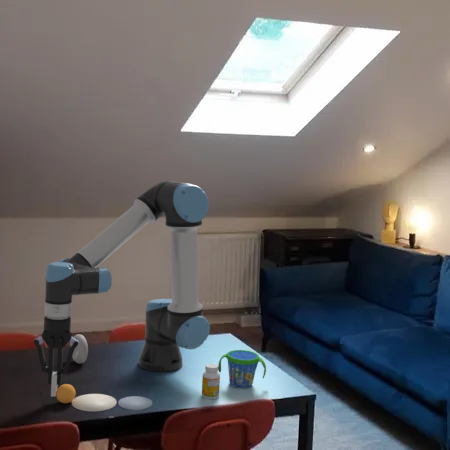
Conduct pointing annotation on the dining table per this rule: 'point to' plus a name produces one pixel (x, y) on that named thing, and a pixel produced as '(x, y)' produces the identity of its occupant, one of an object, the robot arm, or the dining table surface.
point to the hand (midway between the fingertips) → (54, 394)
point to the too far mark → (135, 403)
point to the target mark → (94, 402)
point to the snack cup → (242, 367)
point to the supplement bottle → (211, 382)
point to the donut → (80, 349)
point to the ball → (65, 393)
